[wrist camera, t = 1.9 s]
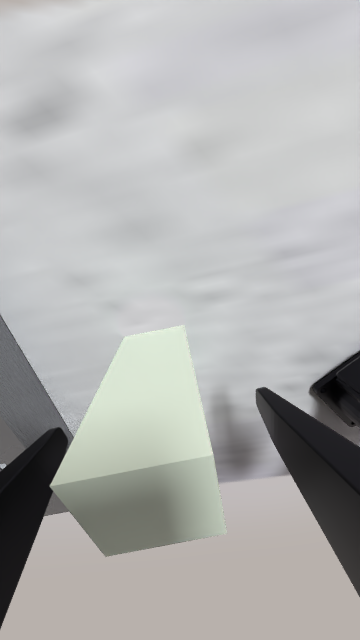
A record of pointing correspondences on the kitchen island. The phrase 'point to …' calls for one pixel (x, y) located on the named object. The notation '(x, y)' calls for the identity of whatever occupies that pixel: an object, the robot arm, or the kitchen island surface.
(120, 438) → the peg
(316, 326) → the kitchen island surface
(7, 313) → the kitchen island surface
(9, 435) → the slotted holder
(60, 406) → the kitchen island surface
